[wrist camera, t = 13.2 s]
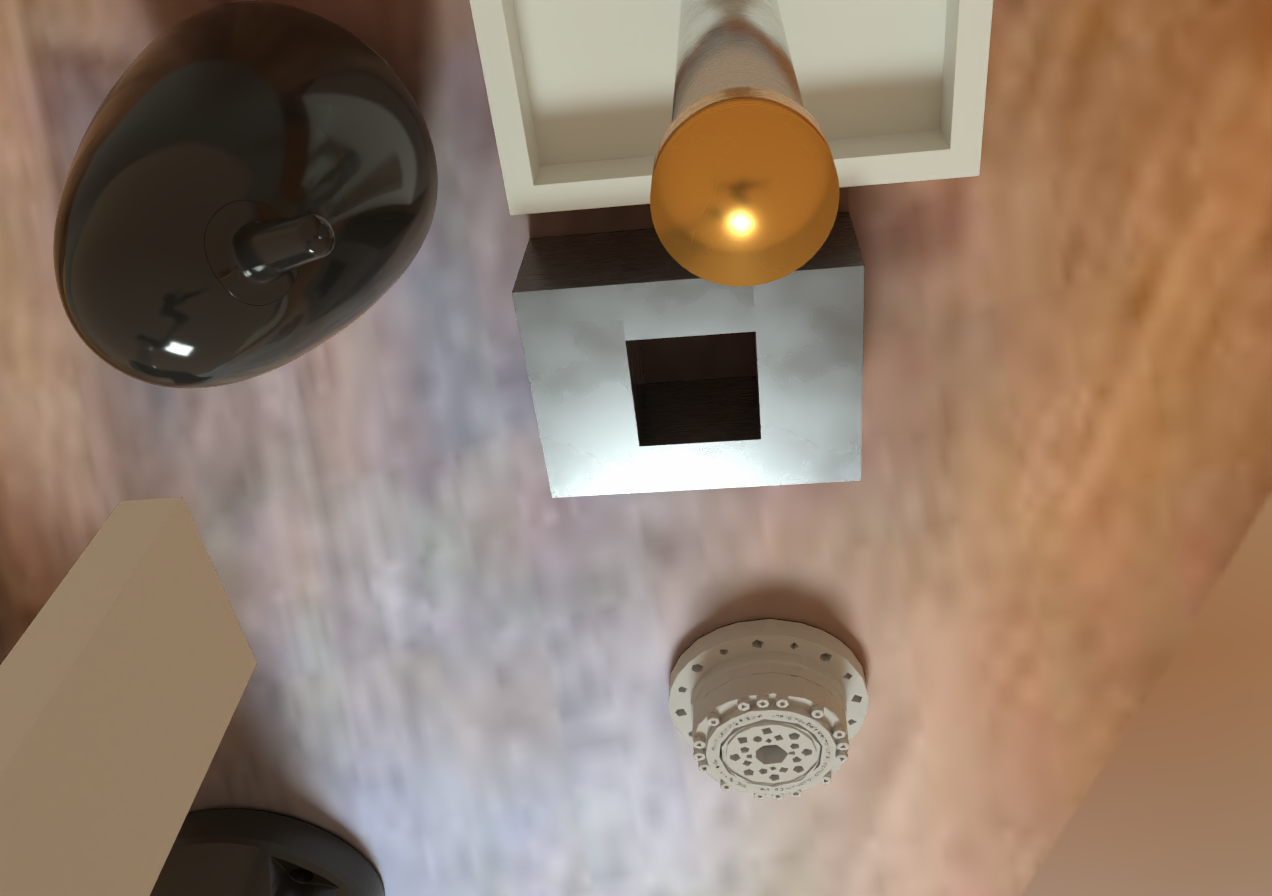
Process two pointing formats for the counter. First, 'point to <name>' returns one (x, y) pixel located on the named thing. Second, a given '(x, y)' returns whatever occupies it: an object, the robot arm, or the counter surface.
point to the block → (690, 410)
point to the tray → (645, 78)
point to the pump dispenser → (241, 197)
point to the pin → (740, 151)
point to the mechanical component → (768, 705)
